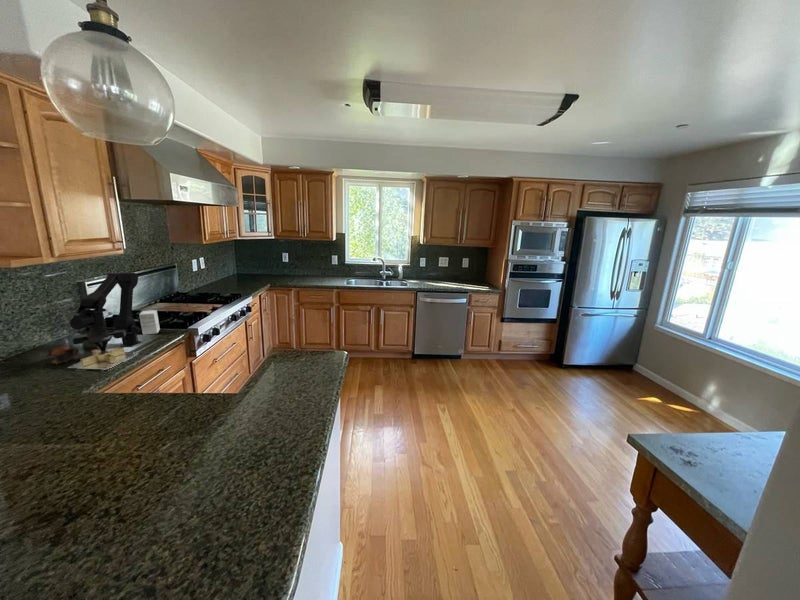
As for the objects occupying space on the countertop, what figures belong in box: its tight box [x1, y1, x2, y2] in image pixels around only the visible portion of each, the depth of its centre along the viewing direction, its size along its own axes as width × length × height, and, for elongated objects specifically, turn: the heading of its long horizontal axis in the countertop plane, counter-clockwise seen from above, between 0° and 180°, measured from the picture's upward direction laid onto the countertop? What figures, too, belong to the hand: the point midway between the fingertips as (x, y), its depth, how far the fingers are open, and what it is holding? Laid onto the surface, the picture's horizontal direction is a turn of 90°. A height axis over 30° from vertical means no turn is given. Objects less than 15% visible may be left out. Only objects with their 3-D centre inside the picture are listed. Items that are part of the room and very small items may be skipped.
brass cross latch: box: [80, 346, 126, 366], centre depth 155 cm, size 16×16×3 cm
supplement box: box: [138, 309, 161, 336], centre depth 194 cm, size 7×7×13 cm
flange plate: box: [66, 351, 139, 369], centre depth 156 cm, size 18×18×2 cm
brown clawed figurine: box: [46, 345, 80, 364], centre depth 156 cm, size 12×10×8 cm
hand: (104, 353), depth 159 cm, fingers closed
